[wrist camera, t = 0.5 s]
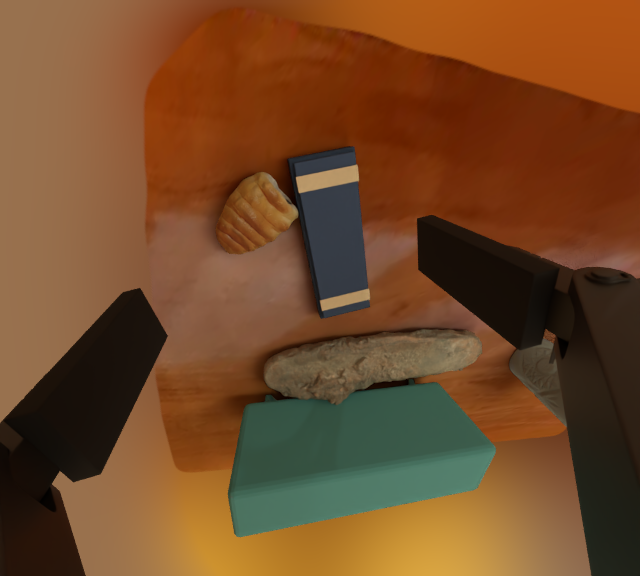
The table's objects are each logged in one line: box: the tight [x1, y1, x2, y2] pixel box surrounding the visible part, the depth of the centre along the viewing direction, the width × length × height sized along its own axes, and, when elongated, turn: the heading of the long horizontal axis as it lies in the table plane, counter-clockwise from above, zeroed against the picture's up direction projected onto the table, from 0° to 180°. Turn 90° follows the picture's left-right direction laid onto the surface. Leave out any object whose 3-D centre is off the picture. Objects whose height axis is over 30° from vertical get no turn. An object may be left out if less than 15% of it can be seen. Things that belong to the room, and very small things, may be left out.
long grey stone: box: [263, 329, 482, 405], centre depth 43 cm, size 35×5×10 cm
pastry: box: [215, 172, 299, 254], centre depth 31 cm, size 9×7×4 cm
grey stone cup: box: [509, 339, 567, 427], centre depth 48 cm, size 10×10×12 cm
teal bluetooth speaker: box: [228, 379, 496, 537], centre depth 42 cm, size 34×10×15 cm, turn 87°
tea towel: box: [287, 146, 370, 319], centre depth 34 cm, size 20×7×3 cm, turn 9°
